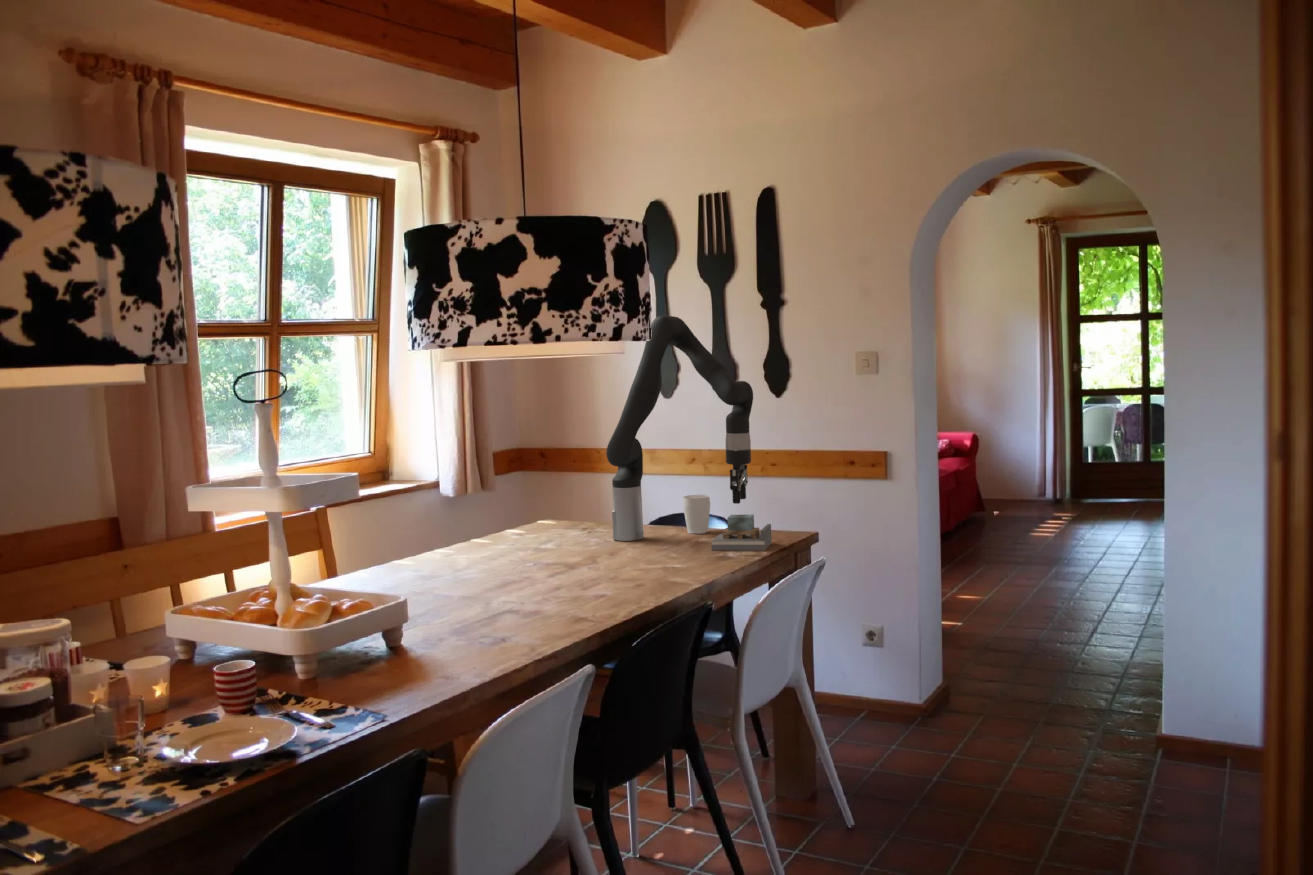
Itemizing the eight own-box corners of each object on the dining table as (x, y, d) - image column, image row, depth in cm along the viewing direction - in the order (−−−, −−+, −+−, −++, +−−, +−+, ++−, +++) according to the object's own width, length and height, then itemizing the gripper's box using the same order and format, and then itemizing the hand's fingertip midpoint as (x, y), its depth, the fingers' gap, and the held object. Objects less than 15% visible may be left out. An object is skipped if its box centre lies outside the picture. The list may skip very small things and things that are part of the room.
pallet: (723, 538, 319) (722, 517, 318) (727, 535, 324) (726, 514, 324) (756, 538, 316) (755, 517, 315) (759, 535, 321) (758, 514, 321)
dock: (711, 550, 316) (711, 530, 316) (720, 543, 328) (719, 524, 328) (764, 550, 312) (763, 530, 312) (771, 543, 324) (770, 523, 323)
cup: (679, 532, 352) (677, 496, 351) (703, 529, 356) (702, 493, 355) (691, 535, 344) (690, 499, 343) (716, 532, 348) (714, 496, 347)
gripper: (730, 445, 325) (732, 497, 327) (720, 450, 312) (722, 504, 313) (754, 445, 323) (756, 497, 325) (745, 450, 310) (747, 505, 311)
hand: (739, 501), depth 319 cm, fingers open, 8 cm apart
